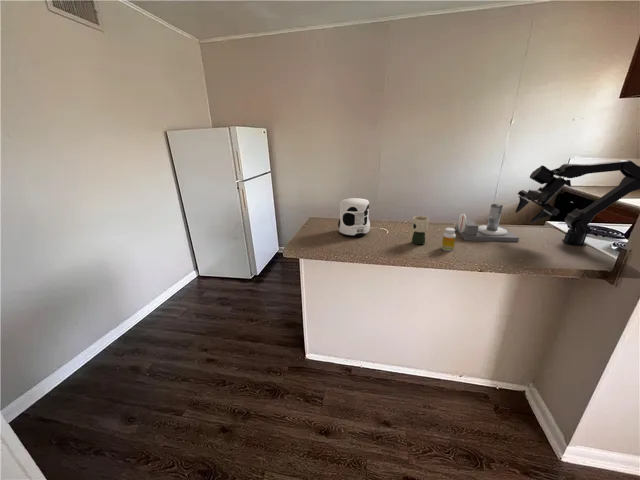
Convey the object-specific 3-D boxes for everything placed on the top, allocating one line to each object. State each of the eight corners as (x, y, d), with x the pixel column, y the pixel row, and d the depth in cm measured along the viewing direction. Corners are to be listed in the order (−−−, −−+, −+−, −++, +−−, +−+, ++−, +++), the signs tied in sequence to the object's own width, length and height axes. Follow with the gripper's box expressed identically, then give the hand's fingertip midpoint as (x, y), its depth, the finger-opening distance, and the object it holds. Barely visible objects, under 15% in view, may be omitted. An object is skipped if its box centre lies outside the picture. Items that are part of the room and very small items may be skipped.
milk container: (348, 226, 161) (348, 196, 154) (375, 231, 151) (376, 199, 144) (332, 235, 148) (331, 202, 141) (360, 241, 138) (361, 206, 131)
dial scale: (501, 229, 148) (505, 210, 144) (518, 241, 132) (523, 220, 128) (453, 228, 152) (456, 209, 148) (464, 240, 136) (468, 219, 132)
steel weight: (498, 229, 140) (504, 205, 135) (495, 232, 137) (500, 207, 132) (488, 227, 144) (493, 203, 139) (484, 229, 141) (489, 205, 136)
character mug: (409, 238, 139) (411, 214, 134) (424, 239, 138) (427, 214, 133) (411, 247, 129) (414, 221, 124) (427, 247, 128) (431, 221, 123)
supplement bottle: (454, 251, 123) (458, 231, 120) (442, 250, 124) (445, 230, 121) (452, 246, 128) (455, 227, 125) (439, 246, 129) (442, 227, 126)
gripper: (524, 175, 128) (499, 202, 135) (559, 193, 113) (530, 222, 120) (536, 183, 132) (512, 209, 140) (572, 201, 118) (543, 229, 125)
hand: (523, 217), depth 131 cm, fingers open, 9 cm apart
